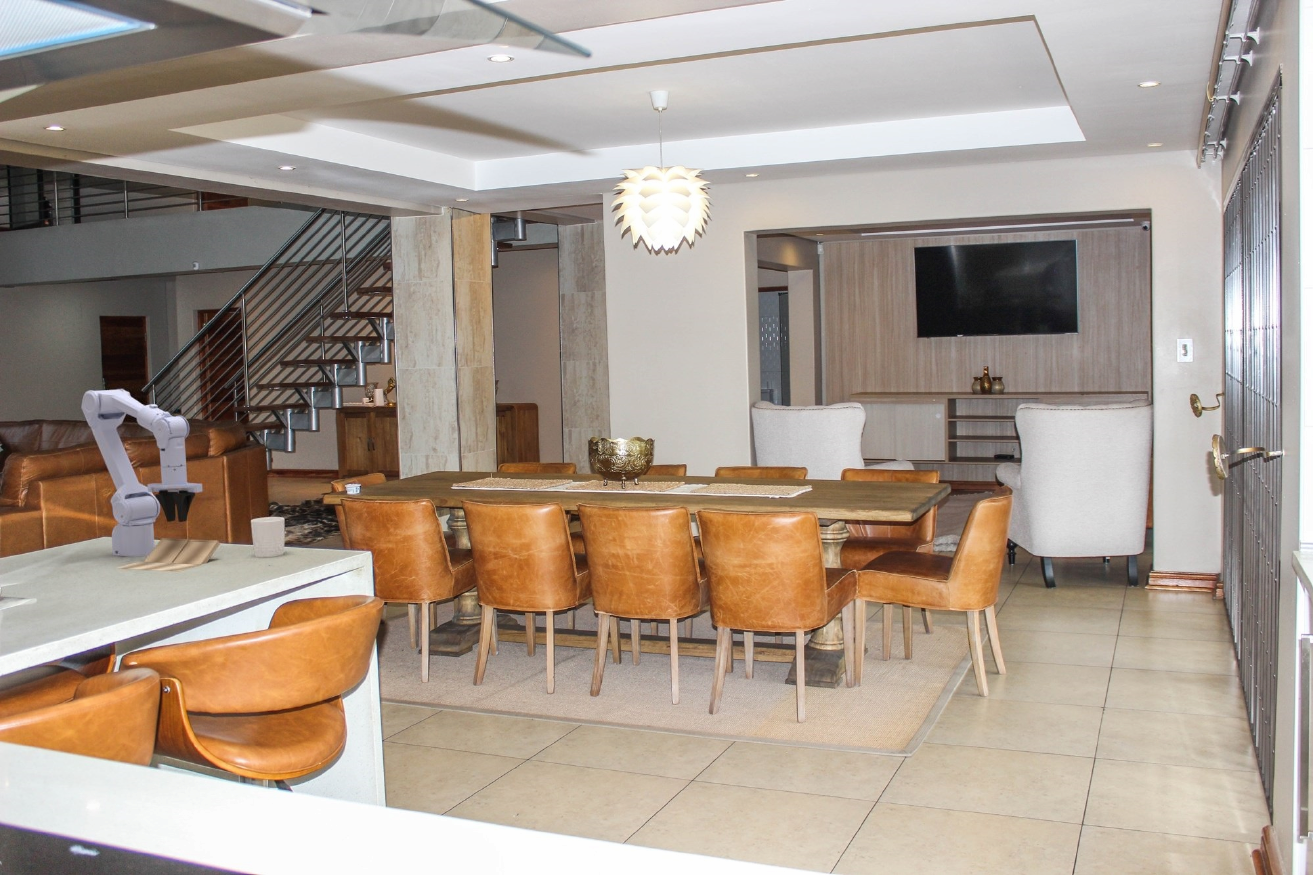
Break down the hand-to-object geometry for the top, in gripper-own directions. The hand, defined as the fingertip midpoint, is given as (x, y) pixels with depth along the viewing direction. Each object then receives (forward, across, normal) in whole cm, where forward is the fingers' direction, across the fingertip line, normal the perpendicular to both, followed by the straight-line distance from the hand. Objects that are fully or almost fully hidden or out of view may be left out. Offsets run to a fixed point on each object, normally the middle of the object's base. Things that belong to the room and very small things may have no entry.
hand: (177, 521), depth 278 cm
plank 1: (+8, -2, -1) cm, 8 cm away
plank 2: (+8, +7, -1) cm, 10 cm away
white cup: (+11, +19, +9) cm, 24 cm away
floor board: (+10, +2, -10) cm, 14 cm away
